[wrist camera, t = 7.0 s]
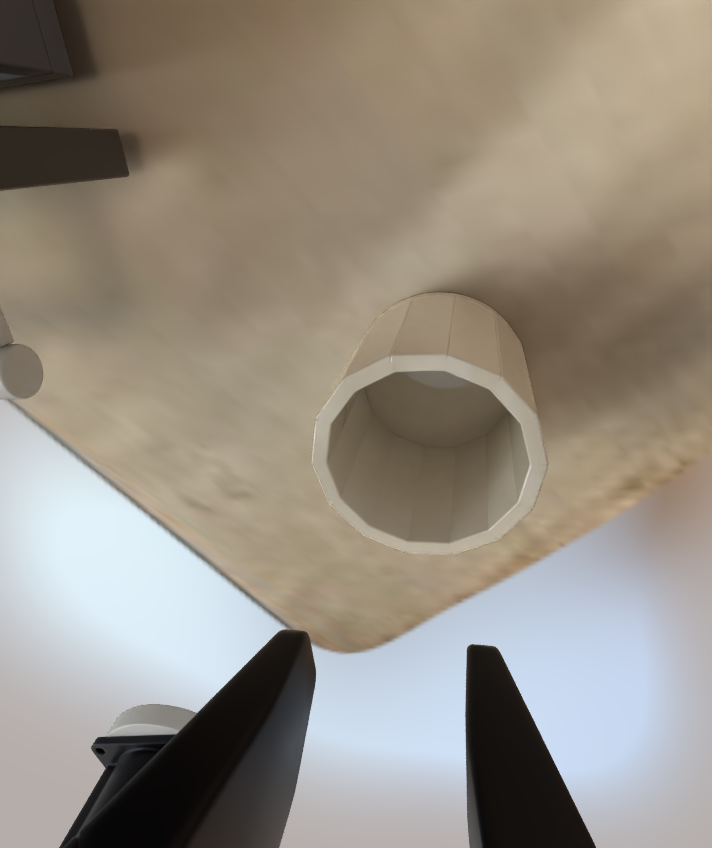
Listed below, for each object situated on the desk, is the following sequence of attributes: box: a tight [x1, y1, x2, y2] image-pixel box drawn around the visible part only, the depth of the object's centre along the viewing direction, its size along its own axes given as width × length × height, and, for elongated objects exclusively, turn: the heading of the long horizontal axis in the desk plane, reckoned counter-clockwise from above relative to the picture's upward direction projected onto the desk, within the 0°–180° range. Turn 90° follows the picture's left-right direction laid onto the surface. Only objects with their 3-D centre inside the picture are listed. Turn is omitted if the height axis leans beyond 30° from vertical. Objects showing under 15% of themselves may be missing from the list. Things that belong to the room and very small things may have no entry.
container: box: [311, 292, 548, 555], centre depth 15 cm, size 5×6×6 cm
